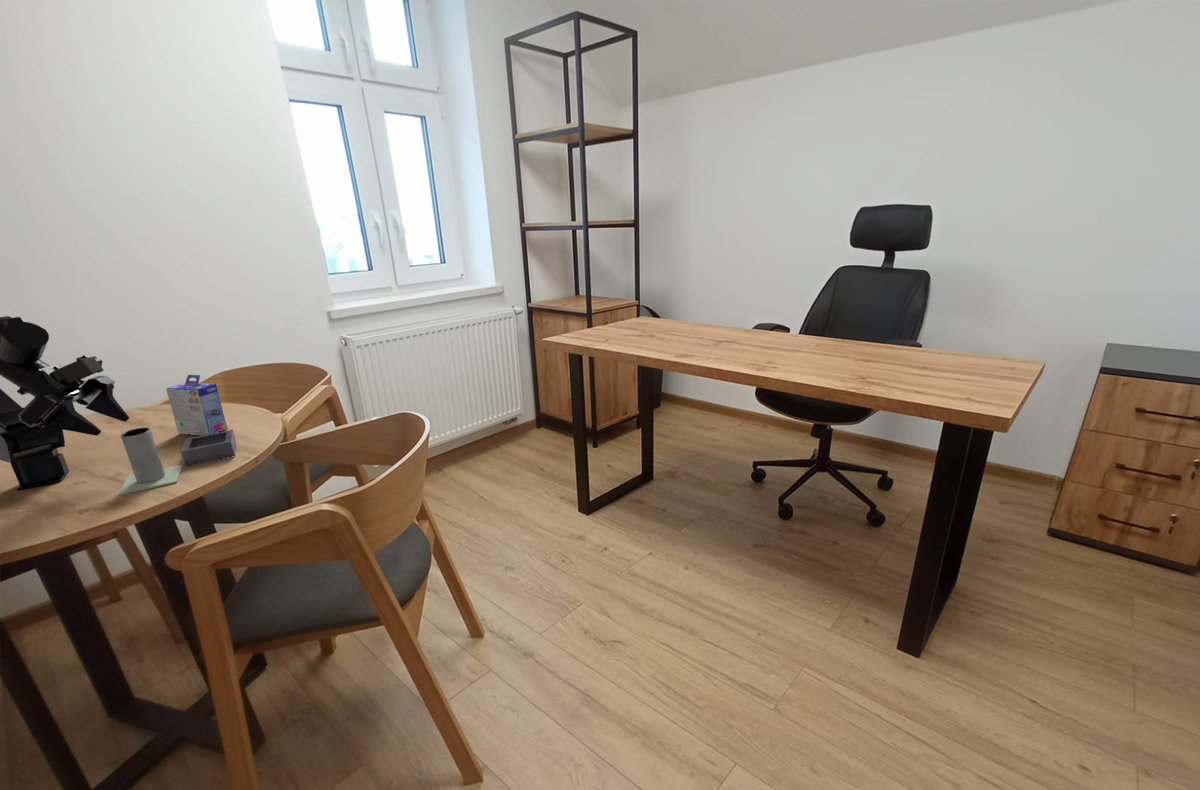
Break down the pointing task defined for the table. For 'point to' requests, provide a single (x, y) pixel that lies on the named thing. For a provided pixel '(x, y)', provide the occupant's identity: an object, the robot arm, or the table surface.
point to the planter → (143, 455)
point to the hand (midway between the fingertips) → (114, 426)
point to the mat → (134, 486)
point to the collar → (208, 447)
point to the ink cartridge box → (196, 407)
